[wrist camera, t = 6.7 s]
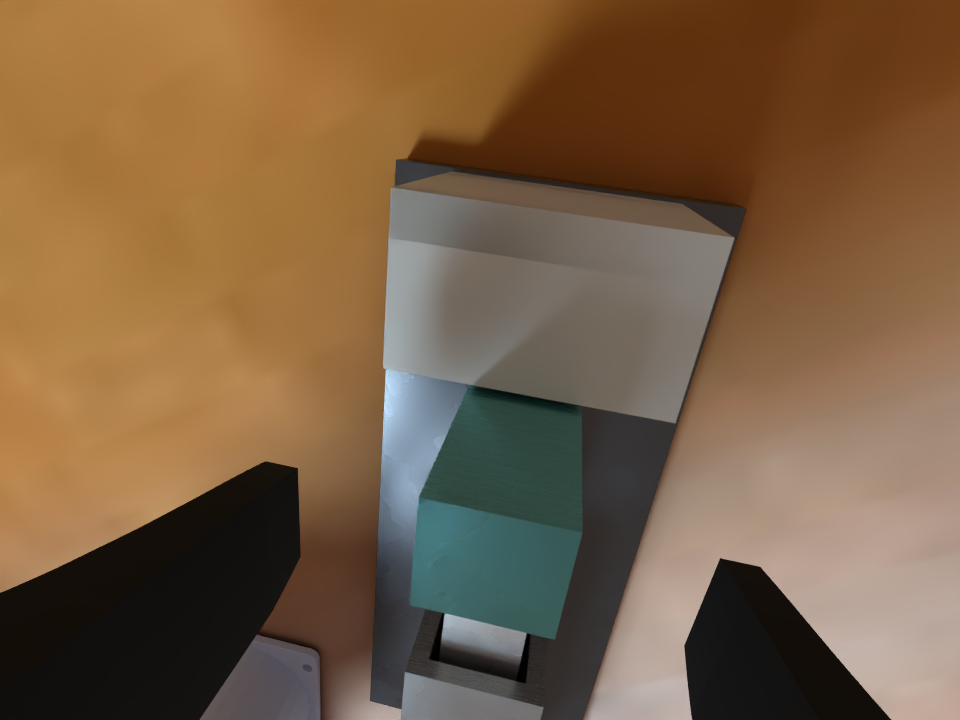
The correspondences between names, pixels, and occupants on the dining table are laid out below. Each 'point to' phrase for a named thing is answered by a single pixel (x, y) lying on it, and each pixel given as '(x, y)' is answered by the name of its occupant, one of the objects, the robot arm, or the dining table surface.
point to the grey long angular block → (601, 554)
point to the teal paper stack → (500, 527)
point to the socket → (550, 291)
